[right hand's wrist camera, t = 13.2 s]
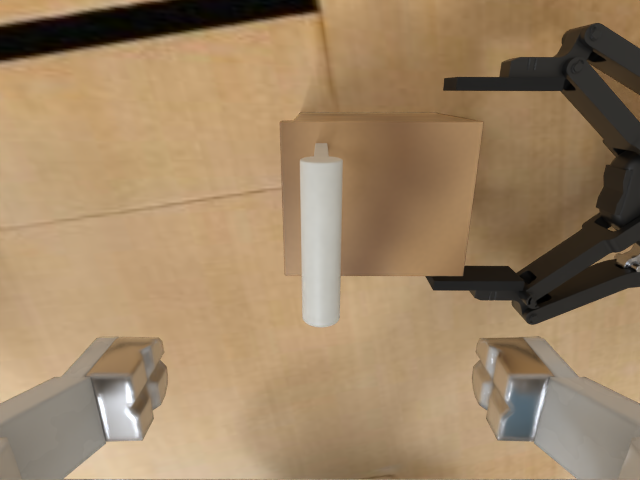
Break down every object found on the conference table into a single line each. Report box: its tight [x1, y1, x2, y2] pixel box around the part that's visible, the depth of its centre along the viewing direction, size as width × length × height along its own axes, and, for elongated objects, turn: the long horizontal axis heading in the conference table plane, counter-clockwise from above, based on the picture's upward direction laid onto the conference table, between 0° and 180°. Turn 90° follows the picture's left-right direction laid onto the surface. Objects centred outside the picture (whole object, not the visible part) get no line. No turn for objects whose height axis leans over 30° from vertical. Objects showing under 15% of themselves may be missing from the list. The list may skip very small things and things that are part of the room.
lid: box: [280, 120, 484, 327], centre depth 22 cm, size 12×10×9 cm
